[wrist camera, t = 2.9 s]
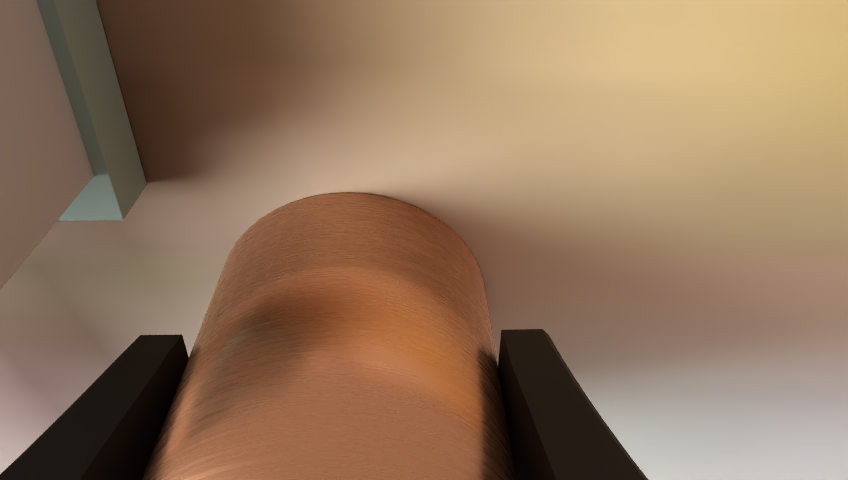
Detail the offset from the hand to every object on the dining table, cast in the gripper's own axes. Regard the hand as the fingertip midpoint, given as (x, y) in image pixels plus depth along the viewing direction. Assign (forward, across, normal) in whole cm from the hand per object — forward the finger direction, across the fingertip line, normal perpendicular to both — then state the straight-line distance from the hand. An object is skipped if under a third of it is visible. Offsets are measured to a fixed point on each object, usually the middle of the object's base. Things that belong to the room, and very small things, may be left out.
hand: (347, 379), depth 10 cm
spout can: (+2, 0, 0) cm, 2 cm away
